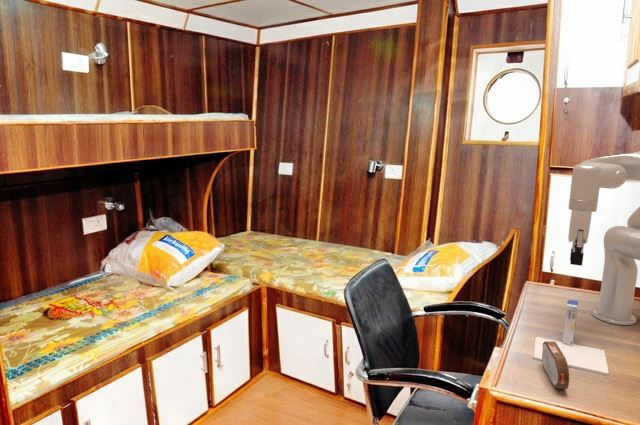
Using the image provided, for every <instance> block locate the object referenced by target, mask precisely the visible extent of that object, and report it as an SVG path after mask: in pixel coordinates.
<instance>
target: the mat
mask: <svg viewBox="0 0 640 425" xmlns="http://www.w3.org/2000/svg"><path fill="white" fill-rule="evenodd" d="M546 341H548V342H553V341H555V342H556V343H557V345H558V347H559V348H560V350H561V351H562V353H563V355H564V356H565V358H566V360H567V364H568V368H572V369H578V370H582V371H586V372H589V373H590V372H591V373H595V374H602V375H605V376H609V374H610V373H609V367H608V363H607V358H606V354H605V353H606V352H605V350H604V349H599V348H595V347H589V346H585V345H579V344H575V343H573V346H572V345H567V344H564V343H562V342H563V341H560V340H553V339H548V338H543V337H538V336H535V338H534V348H533V356H532V357H533V358H532V359H533V360H535V361H540V362H543V361H542V353H543V343H544V342H546Z"/></svg>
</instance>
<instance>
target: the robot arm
mask: <svg viewBox="0 0 640 425" xmlns="http://www.w3.org/2000/svg"><path fill="white" fill-rule="evenodd" d="M639 179H640V150H638V151H636V152H631V153H623V154H616V155H607V156H600V157H595V158H591V159H587V160H583V161H582V162H580V163H579V164H576V165H574V167H573V169H572V175H571V183H570V190H569V191H570V192H569V200H568V201H569V202H568V210H569V211H571V213H570V214H571V215H570V219H569V228H568V236H567V238H568V242H569V243H571V242H572V246H571V249H570V256H569V263H570V265H573V266H581V267H582V266H583V262H584V255H585V254H584V246H585V245H586V244H587V243H588V239H589V234H590V229H591V221H592V213H594V212H595V213H596V212H597V211H598V210H597V209H598V202H599V195H600V189H601V188H603V189H609V190H613V189H617V188H620V187H621V186H623V185H624V184H625V182H626V180H639ZM603 250H604V261H603V271H602V277H601V278H602V279H601V285H600V292H599V293H600V294H599V298H598V300H599V301H598V306H597V307H594V308H593V309H592V312H591V313H592V315H593V316H594V318H596V319H598V320H600V321H602V322H605V323H609V324H611V325H612V324H613V325H618V326H632V325H635V324H636V322H637V318H636V316H635V315H633V314H632V312H633V307H634V306H633V305H634V299H635V290H636V284H637V278H638V272H639V271H638V265H637V263H636V260H637V261H640V206H638V207H637V208H636V209H635V211H633V213H631V215H629V217H628V219H627V226H625V225H624V226H623V225H616V226H612V227H610V228H608V230H606V232H605V233H604V236H603Z"/></svg>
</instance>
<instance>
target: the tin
mask: <svg viewBox="0 0 640 425" xmlns="http://www.w3.org/2000/svg"><path fill="white" fill-rule="evenodd" d="M555 341H556V340H555ZM555 341H553V342H548V341H546V342H544V343H543V353H542V361H541V362H542V365H543V369H544V371H545V374H546V375H547V377H548V379H549V381H550V383H551V384H552V387H554V388H555V389H560V390H561V389H562V390H568V387H569V385H570V371H569V370H570V369H569V368H570V367H568V364H567V360H566V358H565V356H564V355H563V353H562V351H561V350H560V348H559V347H558V345H557V343H556V342H555Z"/></svg>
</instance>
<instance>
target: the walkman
mask: <svg viewBox="0 0 640 425" xmlns="http://www.w3.org/2000/svg"><path fill="white" fill-rule="evenodd" d="M578 308H579V301H578V300H572V299H570V298H569V299H568V300H567V302H566V309H565V317H564V318H565V319H564V326H563V327H564V328H563V335H562V341H561V342H562V343H564V344H567V345H572V346H573V344H574V339H575V333H576V324H577V318H578V317H577V316H578Z"/></svg>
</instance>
